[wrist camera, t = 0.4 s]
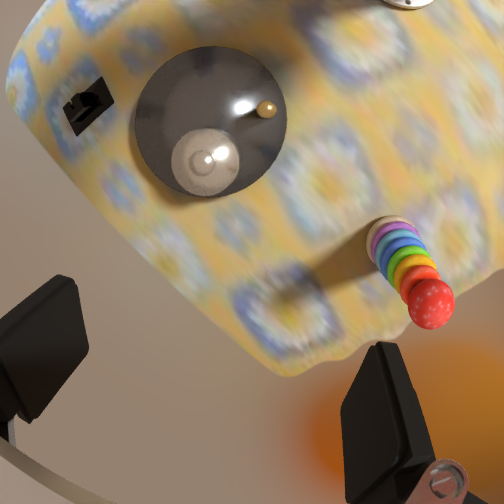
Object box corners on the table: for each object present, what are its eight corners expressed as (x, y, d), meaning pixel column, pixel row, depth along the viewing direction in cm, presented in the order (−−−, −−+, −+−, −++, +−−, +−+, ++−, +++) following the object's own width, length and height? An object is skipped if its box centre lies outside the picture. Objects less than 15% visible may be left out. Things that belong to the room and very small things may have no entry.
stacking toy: (355, 253, 42) (383, 335, 26) (380, 204, 39) (431, 263, 22) (398, 272, 43) (441, 355, 26) (424, 227, 39) (486, 293, 22)
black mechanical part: (109, 67, 37) (92, 64, 32) (127, 101, 39) (110, 101, 35) (59, 113, 40) (42, 115, 36) (75, 146, 42) (58, 150, 38)
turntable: (131, 71, 35) (110, 66, 30) (274, 36, 31) (270, 23, 26) (154, 203, 42) (136, 214, 37) (296, 186, 39) (295, 196, 34)
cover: (177, 134, 36) (163, 136, 33) (237, 123, 35) (230, 123, 31) (187, 193, 39) (175, 201, 36) (247, 185, 38) (240, 193, 34)
